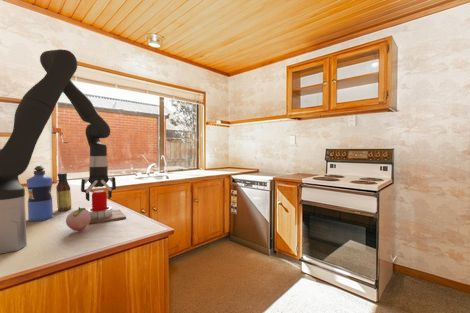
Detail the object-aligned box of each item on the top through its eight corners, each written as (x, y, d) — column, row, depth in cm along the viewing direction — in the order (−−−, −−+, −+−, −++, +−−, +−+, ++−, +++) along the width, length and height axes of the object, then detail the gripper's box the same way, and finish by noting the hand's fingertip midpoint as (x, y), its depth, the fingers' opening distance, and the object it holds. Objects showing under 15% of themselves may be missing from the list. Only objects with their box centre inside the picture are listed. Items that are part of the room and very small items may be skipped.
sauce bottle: (74, 208, 132) (73, 172, 132) (65, 211, 126) (64, 174, 125) (63, 208, 133) (62, 172, 132) (53, 211, 127) (52, 173, 126)
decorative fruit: (70, 229, 99) (69, 205, 98) (93, 227, 102) (92, 203, 101) (63, 237, 90) (62, 211, 90) (88, 234, 93) (87, 209, 93)
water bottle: (31, 222, 107) (29, 167, 106) (25, 219, 113) (23, 166, 112) (56, 217, 115) (54, 165, 114) (49, 214, 120) (48, 165, 119)
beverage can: (90, 218, 110) (89, 192, 110) (94, 214, 116) (93, 190, 116) (105, 217, 112) (104, 192, 111) (108, 213, 118) (107, 189, 117)
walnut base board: (126, 218, 113) (125, 216, 113) (75, 226, 102) (75, 224, 102) (119, 211, 126) (119, 209, 126) (74, 217, 115) (74, 215, 115)
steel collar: (113, 216, 113) (113, 209, 113) (87, 220, 107) (87, 213, 107) (110, 212, 121) (110, 205, 121) (86, 215, 115) (86, 208, 115)
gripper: (81, 166, 106) (81, 203, 106) (116, 165, 114) (116, 199, 115) (80, 165, 112) (80, 200, 113) (113, 164, 120) (114, 196, 121)
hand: (99, 199), depth 114 cm, fingers open, 8 cm apart
